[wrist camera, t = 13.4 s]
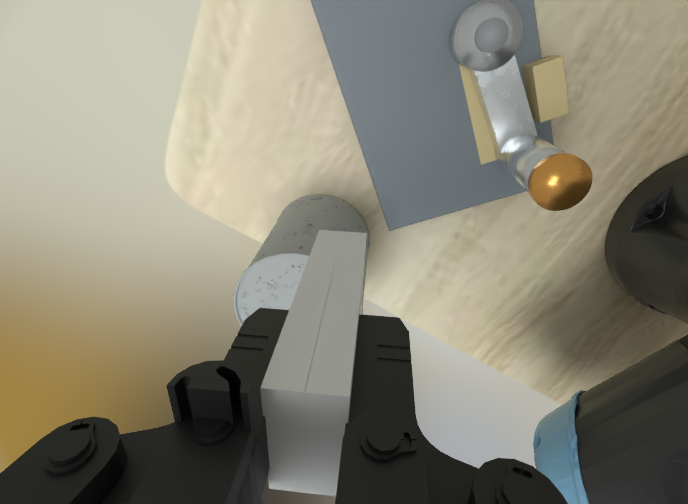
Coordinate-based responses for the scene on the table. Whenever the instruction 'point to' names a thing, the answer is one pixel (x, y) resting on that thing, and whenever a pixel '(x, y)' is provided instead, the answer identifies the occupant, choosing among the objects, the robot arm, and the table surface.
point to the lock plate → (430, 101)
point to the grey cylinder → (291, 252)
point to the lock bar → (516, 111)
